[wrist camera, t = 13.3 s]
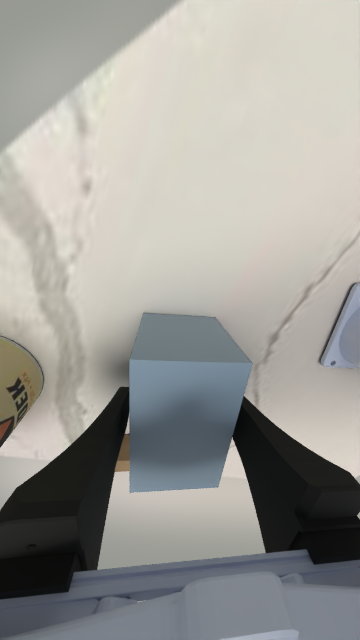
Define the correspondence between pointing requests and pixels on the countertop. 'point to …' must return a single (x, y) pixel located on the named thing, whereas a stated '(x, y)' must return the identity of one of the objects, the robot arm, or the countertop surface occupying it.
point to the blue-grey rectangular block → (183, 401)
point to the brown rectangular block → (124, 455)
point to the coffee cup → (16, 385)
